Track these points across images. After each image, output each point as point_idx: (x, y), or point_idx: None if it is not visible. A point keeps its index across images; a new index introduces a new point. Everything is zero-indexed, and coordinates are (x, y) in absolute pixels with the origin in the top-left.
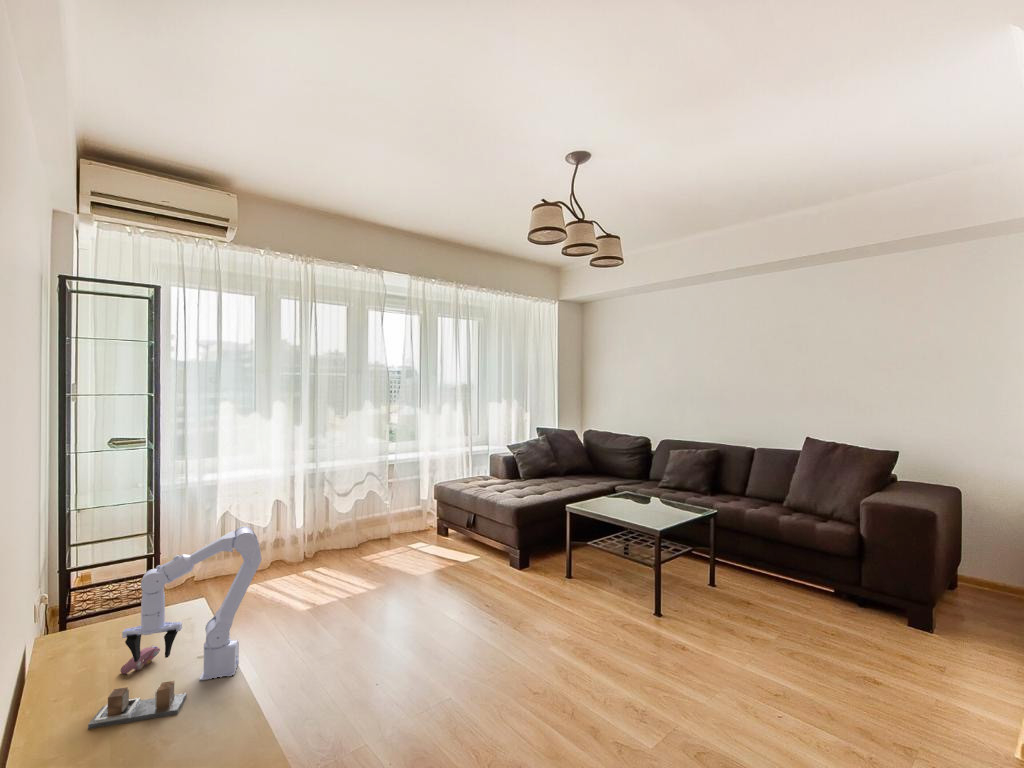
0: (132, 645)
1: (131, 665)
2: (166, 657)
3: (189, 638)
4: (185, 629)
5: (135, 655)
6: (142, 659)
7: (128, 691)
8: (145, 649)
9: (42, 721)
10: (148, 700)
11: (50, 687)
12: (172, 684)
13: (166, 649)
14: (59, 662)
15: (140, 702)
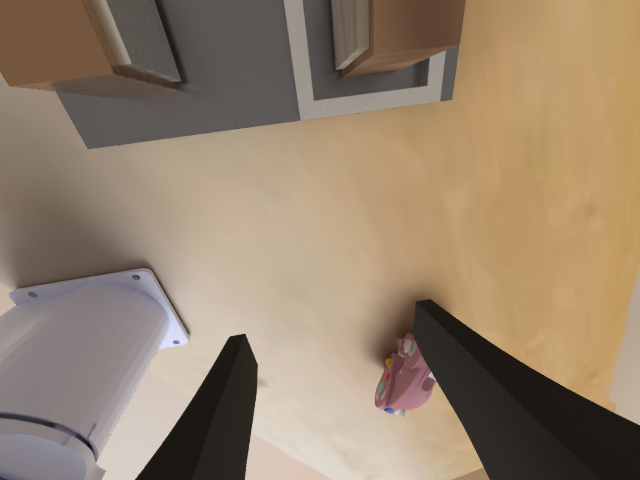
0: (601, 446)
1: None
2: (235, 336)
3: (334, 436)
4: (360, 455)
5: (456, 333)
6: (407, 363)
7: (354, 44)
8: (415, 401)
9: (634, 67)
10: (257, 109)
11: (599, 277)
12: None
13: (207, 399)
14: (579, 364)
15: (289, 97)
